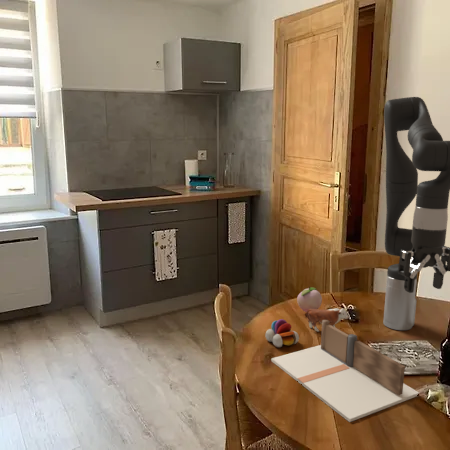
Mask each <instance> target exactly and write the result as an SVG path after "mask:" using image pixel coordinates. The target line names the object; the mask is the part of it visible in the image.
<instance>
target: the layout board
mask: <svg viewBox="0 0 450 450" xmlns="http://www.w3.org/2000/svg"><path fill="white" fill-rule="evenodd" d="M335 327H336V326H335ZM335 327H333V326H332V325H330V323H329V321H328V320H322V325H321V339H320V340H321V341H320V344H318V345H316V346H311V347H308V348H305V349H301V350H298V351H293V352H290V353H288V354H283V355H279V356H275V357H272V358H271V359H270V361H271V362H272V363H273V364H274V365H276V366H277V367H279V369H281V370H282V371H283V372H284V373H286V374H288V376H290V377H291V378H292V379H294V380H295V381H296V382H297V381H298V382H297V383H298V384H300V385H301V384H302V385H301V386H302V387H304V388H305V389H307V390H308V391H309V392H310V393H311V394H313V395H315V397H316V398H318V399H320V401H322V402H323V403H324V404H326V405H327V406H328V407H329V408H331V409H332V410H333V411H335V412H336V413H337V414H338V415H340V416H341V417H342V419H345V420H346V421H347V422H349V423H351V422H354V421H356V420H359V419H362V418H364V417H367V416H369V415H373V414H375V413H377V412H380V411H382V410H385V409H388V408H390V407H393V406H396V405H398V404H401V403H403V402H405V401H406V402H407V401H408V400H411V399H413V398H416V397H418V396H417V395H418V394H419V395H420V392H419V391H417V390H415V389H414V388H413V387H410V386H409V385H407V384H406V383H404V382H403V392H402V394H401V395H398V394H396V393H394V392H393V391H391V390H390V389H388V388H387V387H385V386H383V385H382V384H380V383H379V382H377V381H375V380H374V379H372V378H371V377H369V376H368V375H366V374H364V373H363V372H361V371H360V370H358V369H357V368H355V367H353V359H354V345H355V341H357V340H358V335H356V334H353V333H352V334H351V333H350V334H347V333H346V332H344V331H342V330H340V329H339V328H337V327H336V328H335Z"/></svg>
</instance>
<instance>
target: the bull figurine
mask: <svg viewBox="0 0 450 450" xmlns="http://www.w3.org/2000/svg"><path fill="white" fill-rule="evenodd" d="M306 318H307V322H308V326H309V328H310V329H313V328H314V331H316V332H317V333H319V332H320V330H319V328H318V327H317V322H319V323H320V325H321V326H322V320H328V321H329V324H330V325H332V326H333V327H335V328H337V327H336V326H335V325H336V324H338V323H339V322H341V320H344V319H345V320H348V319H349V315H348V313H347V311H346V310H345V308H341V309H340V308H338V307H337V308H329V309H319V308H318V309H309V310H308V311H307V312H306Z"/></svg>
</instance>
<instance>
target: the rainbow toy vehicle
mask: <svg viewBox="0 0 450 450" xmlns="http://www.w3.org/2000/svg"><path fill="white" fill-rule="evenodd" d="M291 329H292V325H291V324H290V323H288V322H287V321H286V320H285V319H283V318H280V319H278V320H274V321H272V323H271V328H268V329H267V330H266V332H265V335H264V336H265V339H266V341H268V342H271V343H272V344H273V345H274V346H275V347H276V348H282V347H283V345H285V346H291V345H295V344H297V343H298V342H299V340H300V335H299V334H298V332H296V331H295V330H291Z"/></svg>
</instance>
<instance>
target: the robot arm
mask: <svg viewBox="0 0 450 450" xmlns="http://www.w3.org/2000/svg"><path fill="white" fill-rule="evenodd" d="M383 110H384V111H383V122H384V135H385V136H384V137H385V138H384V139H385V150H386V151H385V153H386V154H385V155H386V156H385V157H386V158H385V195H386V196H385V198H386V199H385V200H386V201H385V202H386V219H385V229H384V230H385V234H384V249H385V253H387V254H388V255H391V256H395V257H399V260H398V263H395V264H391V265H389V266H388V268H387V272H386V273H387V274H386V283H385V285H386V286H385V298H384V299H385V300H384V308H383V310H384V311H383V322H382V323H383V325H384V326H385V327H387V328H389V329H392V330H397V331H408V330H411V329H412V328H413V326H415V321H416V311H417V310H416V309H417V298H416V293H417V292H416V290H417V281H418V280H417V279H418V273H419V272H421V271H422V269H424V268H428V267H430V268H432V269H433V270H434V272H433V278H432V279H433V281H432V287H433V288H435V289H437V290H441V289H442V287H443V284H444V276H445V274H446V273H447V272H450V247H449V246H446V238H447V227H448V218H449V216H448V215H449V214H448V210H449V209H448V207H449V198H450V140H444V138H443V137H442V134H441V133H440V132H439V131H438V129H437V128H436V127H435V125H433V121H432V118H431V115H430V112H429V109H428V107H427V104H426V102H425V101H424V99H423V98H421V97H419V96H410V97H409V96H408V97H401V98H400V97H399V98H393V99H388V100H387V101H386V102H385V104H384V108H383ZM403 131H407V141H408V143H409V145H410V147H411V149H412V153H411V154H412V155H411V158H410V157H409V155H407V154H406V152H405V150H404V149H403V146H402V145H401V143H400V142H399V137H398V132H403ZM411 159H412V160H411ZM418 171H422V172H439V174H438V176H436V178H433V179H431V180H424V181H421V182H418V180H419V172H418ZM415 198H416V199H415ZM414 199H415V205H414V206H415V208H414V211H413V217H412V228H411V229H410V228H403V227H399V226H398V225H399V220H400V217H402V215H403V213H404V212H405V210H406V209H407V208H408V207H409V206H410V204H411V203H412V202H413V201H414Z"/></svg>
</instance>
